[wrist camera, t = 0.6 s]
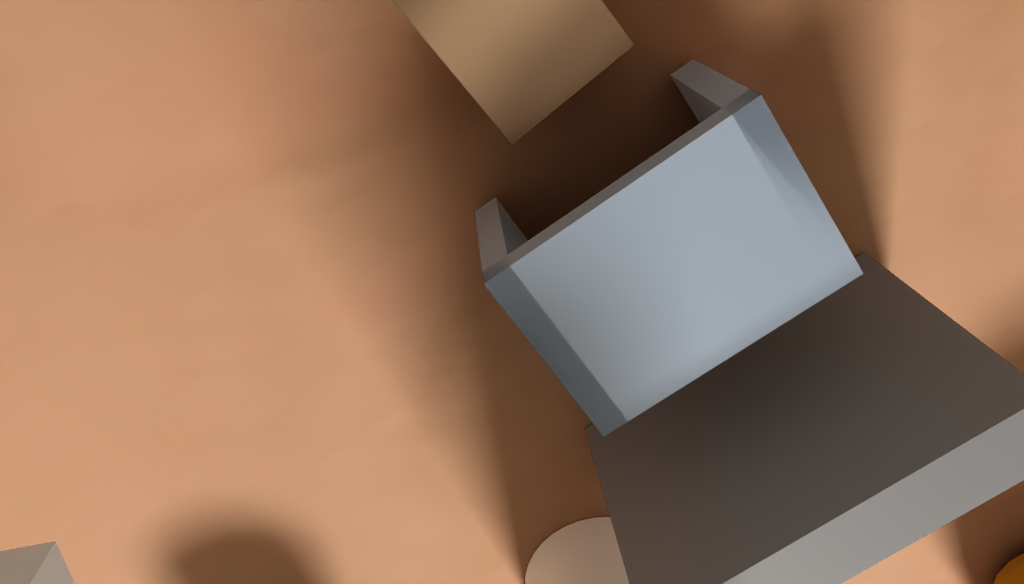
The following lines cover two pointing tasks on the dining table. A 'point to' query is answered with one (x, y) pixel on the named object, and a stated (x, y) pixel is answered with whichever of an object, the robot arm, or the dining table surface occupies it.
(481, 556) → the dining table surface
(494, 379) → the dining table surface
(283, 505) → the dining table surface
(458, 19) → the wooden slab
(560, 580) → the cylindrical container
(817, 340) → the wall
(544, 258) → the block
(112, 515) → the dining table surface
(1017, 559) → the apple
